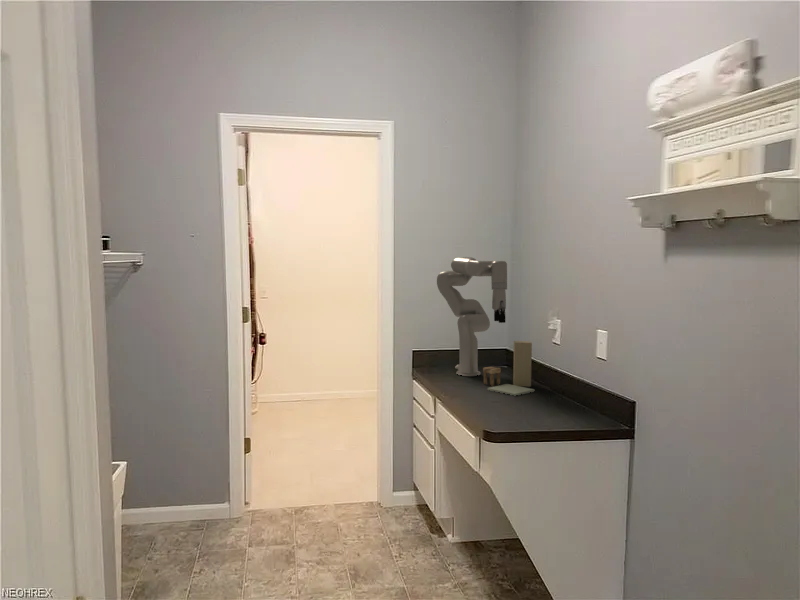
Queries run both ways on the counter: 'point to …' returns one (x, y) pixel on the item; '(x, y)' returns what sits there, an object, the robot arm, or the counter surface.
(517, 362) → the beige block
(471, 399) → the counter surface
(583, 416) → the counter surface
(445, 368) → the counter surface
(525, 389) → the sage mat
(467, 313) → the robot arm
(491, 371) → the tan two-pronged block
